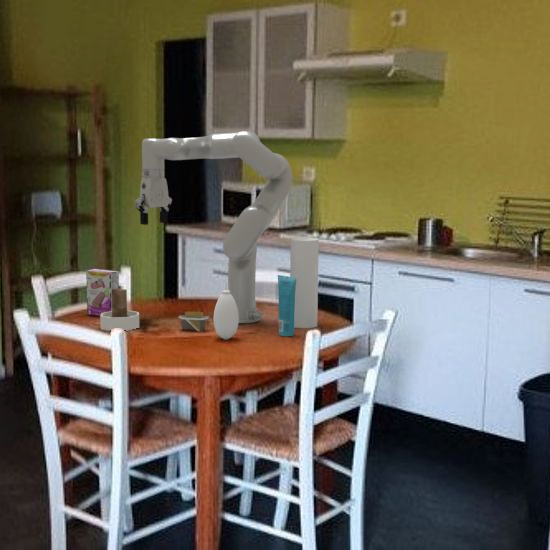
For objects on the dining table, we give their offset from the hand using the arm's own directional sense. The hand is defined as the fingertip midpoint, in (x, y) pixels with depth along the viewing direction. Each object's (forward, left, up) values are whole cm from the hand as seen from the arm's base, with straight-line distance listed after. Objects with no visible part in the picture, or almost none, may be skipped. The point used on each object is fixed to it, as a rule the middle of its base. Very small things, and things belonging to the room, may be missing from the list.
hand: (154, 223), depth 283 cm
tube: (-54, -4, -34) cm, 64 cm away
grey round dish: (-3, +20, -33) cm, 39 cm away
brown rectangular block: (-3, +20, -32) cm, 38 cm away
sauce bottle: (-42, +12, -34) cm, 55 cm away
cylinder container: (-50, -20, -34) cm, 63 cm away
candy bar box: (+16, +10, -34) cm, 38 cm away
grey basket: (-26, +9, -34) cm, 44 cm away
